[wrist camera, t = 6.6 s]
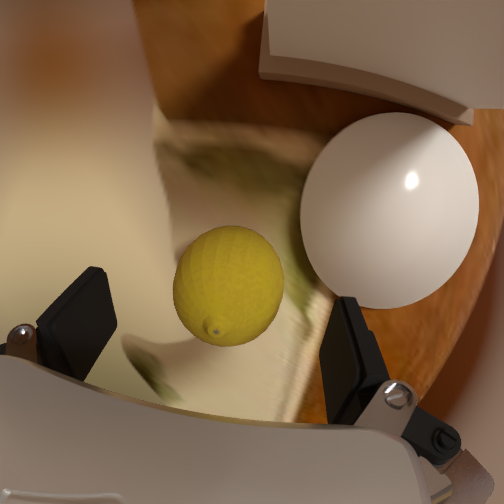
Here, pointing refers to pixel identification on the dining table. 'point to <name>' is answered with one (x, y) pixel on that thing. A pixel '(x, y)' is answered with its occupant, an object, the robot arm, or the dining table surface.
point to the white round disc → (389, 210)
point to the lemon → (228, 286)
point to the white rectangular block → (391, 51)
